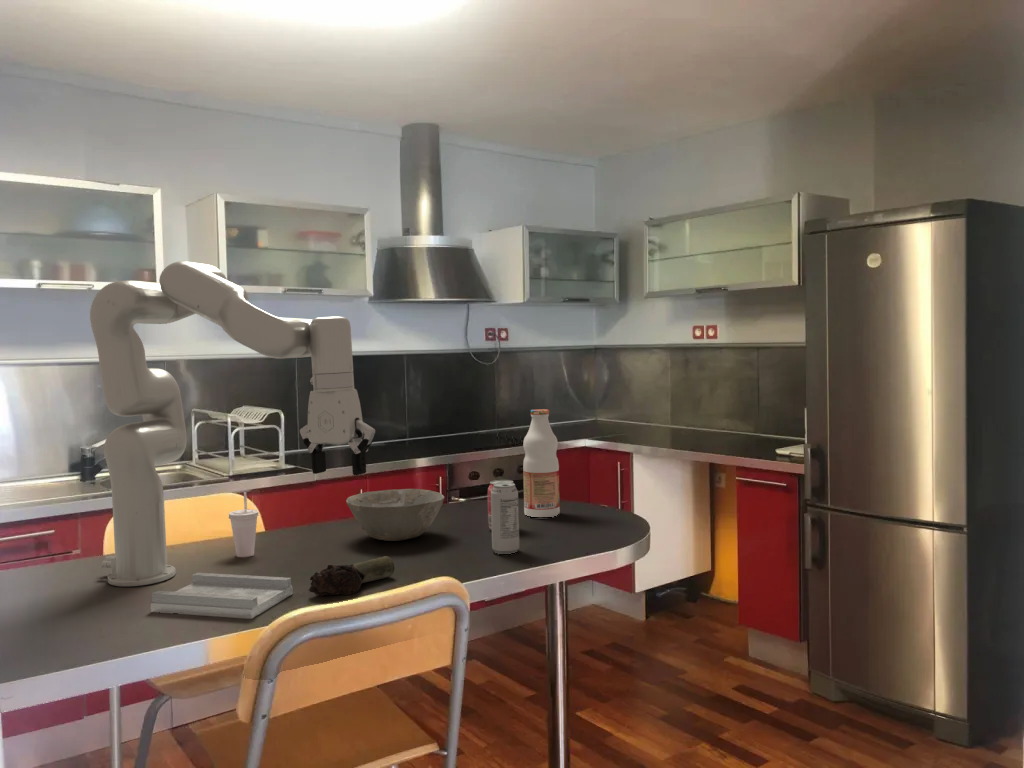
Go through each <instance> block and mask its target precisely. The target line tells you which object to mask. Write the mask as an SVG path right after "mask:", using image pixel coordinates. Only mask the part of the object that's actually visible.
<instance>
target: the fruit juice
mask: <svg viewBox="0 0 1024 768" xmlns="http://www.w3.org/2000/svg"><path fill="white" fill-rule="evenodd" d="M549 416H550V410H549V409H545V408H543V409H539V408H538V409H530V417H531V421H530V426H529V428H528V431H527V433H526V435H525V436H524V438H523V444H522V447H523V451H524V458H523V463H522V464H523V465H522V466H523V467H522V471H523V472H522V473H523V474H522V475H523V512H524V516H525V515H527V516H531V517H552V518H555V517H554V516H556V517H558V516H559V515H560V511H561V509H560V464H559V459H558V457H557V456H558V455H557V450H558V446H559V444H558V438H557V436H556V435H555V434H554V432H553V429H552V427H551V424H550V421H549ZM558 514H559V515H558ZM557 515H558V516H557ZM527 516H526V517H527Z"/></svg>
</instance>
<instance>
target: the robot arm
mask: <svg viewBox="0 0 1024 768" xmlns="http://www.w3.org/2000/svg"><path fill="white" fill-rule="evenodd" d="M195 314H197V316H200V317H202V318H204V319H206V320H209V321H210V322H212V323H214V324H216V325H218V326H220V327H221V328H222V330H223V331H224V332H225V333H226V334H227V335H228V336H229V337H230V338H232V339H233V340H234V341H236V342H237V343H239V344H241V345H242V346H245V347H246V348H249V349H251V350H252V351H254V352H256V353H259V354H261V355H263V356H265V357H268V358H272V359H299V358H308V357H311V370H312V372H311V373H312V377H311V378H310V379H309V382H310V384H311V385H312V386H313V390H311V391H310V392H309V396H308V405H307V407H308V408H307V424H305V425H304V426H303V427H302V428H300V429H299V434H300V436H301V438H302V440H303V444H304V446H305V447H307V451H308V453H309V454H311V456H310V457H311V470H312V474H313V475H317V474H321V473H324V472H326V471H327V463H326V451H325V450H323V449H324V447H325V446H326V445H345V444H347V445H348V446H349V447H350V448H351V450H352V451H353V453H351V466H352V467H351V470H352V475H353V476H359V475H364V474H366V472H367V461H366V453H367V452H368V451H369V448H370V446H371V445H372V444H373V439H374V436H375V434H376V429H375V428H373V427H372V426H371V425H369V424H367V423H365V422H364V420H363V415H362V414H363V413H362V407H361V402H360V398H359V393H358V390H357V389H356V388H355V378H354V362H353V361H354V359H353V346H352V345H353V343H352V327H351V323H350V320H349V319H348V318H347V317H345V316H322V317H321V316H320V317H316V318H313V319H310V318H299V317H296V318H295V317H279V316H275V315H273V314H271V313H269V312H267V311H264V310H263V309H261V308H259V307H257V306H255V305H254V304H251V303H250V302H249V295H248V292H247V290H246V289H245V288H243V287H242V286H241V285H238V284H237V283H234V282H232V281H229V280H228V278H227V277H226V275H225V273H224V272H222V270H221V269H220V268H217V266H214V265H212V264H207V263H203V262H202V263H201V262H200V263H199V262H193V261H185V260H183V261H182V260H181V261H176V262H172V263H170V264H168V265H167V266H165V267H164V269H162V271H161V273H160V275H159V279H158V282H153V281H145V280H144V281H143V280H130V279H128V280H118V281H113V282H111V283H108V284H106V285H104V286H103V287H102V288H101V289H100V290H99V291H98V292H97V293H96V294H95V297H94V298H93V301H91V305H90V311H89V320H90V326H91V331H92V334H93V337H94V341H95V346H96V348H97V355H98V363H99V369H100V370H99V371H100V376H101V383H102V389H103V397H104V400H105V404H106V407H107V409H108V411H109V412H110V413H111V414H113V415H116V417H117V416H119V417H123V418H124V417H136V416H142V420H143V421H137V422H131V423H126V424H123V425H121V426H118V427H116V428H114V429H113V430H112V431H111V432H110V433H109V434H108V435H107V437H106V439H105V442H104V448H103V451H104V452H103V454H104V459H105V463H106V466H107V471H108V474H109V479H110V480H109V481H110V487H111V504H112V519H113V521H112V522H113V537H114V539H113V540H114V555H106V556H105V557H104V560H102V561H101V562H100V563H101V564H100V566H101V568H107V569H109V568H110V569H111V570H110V571H111V572H110V574H108V575H107V583H108V584H109V585H112V586H115V587H138V586H139V587H140V586H148V585H152V584H153V585H154V584H157V583H162V582H164V581H166V580H169V579H171V578H173V577H174V576H175V575H176V573H177V572H176V567H175V566H173V565H170V564H168V556H167V555H168V554H167V533H166V511H165V493H164V487H163V483H162V480H161V478H160V476H159V473H158V472H157V468H156V467H159V466H163V465H167V464H170V463H173V462H175V461H178V459H180V458H181V457H182V456H183V454H184V453H185V450H186V447H187V443H188V441H187V439H188V438H187V428H186V422H185V415H184V414H185V413H184V407H183V402H182V401H183V400H182V396H181V395H182V394H181V390H180V387H179V384H178V382H177V380H176V379H175V378H174V376H173V375H172V374H171V373H170V372H169V371H167V370H165V369H162V368H158V367H148V363H147V360H146V352H145V351H146V350H145V347H144V343H143V342H142V339H141V337H140V335H139V334H138V333H137V331H136V330H135V328H134V326H135V325H136V324H143V325H145V324H146V325H149V324H150V325H167V324H171V323H174V322H178V321H180V320H183V319H185V318H189V317H190V316H193V315H195Z"/></svg>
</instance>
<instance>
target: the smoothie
mask: <svg viewBox="0 0 1024 768" xmlns="http://www.w3.org/2000/svg"><path fill="white" fill-rule="evenodd" d="M247 500H248V497H247V492H245V491H244V492H243V504H244V505H243V506H244V509H237V510H234V511H230V512H229V513H228V519H230V520H229V521H230V525H231V530H232V537H233V542H234V548H235V555H236V557H237V558H249V557H252V556H254V555H255V547H256V545H255V544H256V536H257V526H258V525H257V523H258V522H257V521H258V516H260V514H259V510H257V509H248V502H247Z"/></svg>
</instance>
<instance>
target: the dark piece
mask: <svg viewBox="0 0 1024 768" xmlns="http://www.w3.org/2000/svg"><path fill="white" fill-rule="evenodd" d="M394 572H395V563H394V562H393V559H392V558H391V557H390V556H387V555H385V556H380V557H376V558H373V559H369V560H365V561H361V562H356V563H353V564H350V565H349V564H344V565H342V564H338V565H332V564H328V565H327V567H326V568H323V569H321V570H320V572H318V571H316V572H314V574H313V575H310V576H311V577H309V580H310V581H311V582H310V587H309V589H308V591H309V593H312V594H314V595H315V596H318V595H319V596H324V595H328V596H329V595H332V596H333V595H334V596H336V595H343V596H349V595H351V594H355V593H357V592H358V591H360V588H361V585H362V584H365V583H369V582H373V581H377V580H383V579H387V578H389V577H392V576H393V574H394Z"/></svg>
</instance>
